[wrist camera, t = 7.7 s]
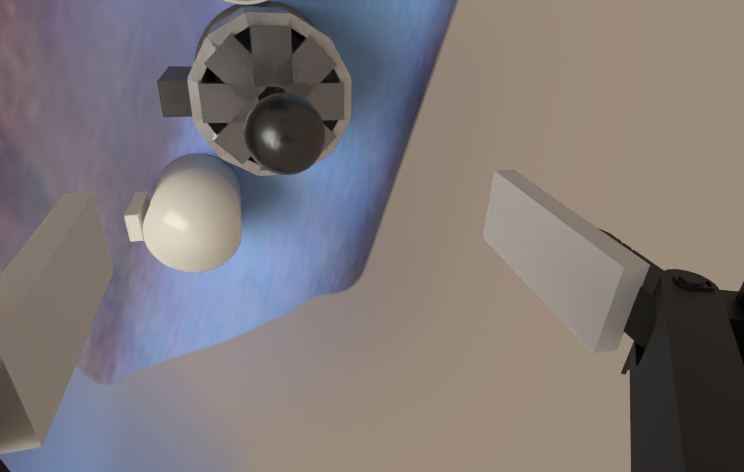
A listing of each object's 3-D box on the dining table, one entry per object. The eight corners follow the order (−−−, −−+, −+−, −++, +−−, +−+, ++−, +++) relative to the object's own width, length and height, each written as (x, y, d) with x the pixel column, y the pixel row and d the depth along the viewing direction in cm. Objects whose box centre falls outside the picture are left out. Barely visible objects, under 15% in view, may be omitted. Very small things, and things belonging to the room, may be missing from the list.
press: (164, -4, 38) (139, 2, 28) (330, 3, 41) (361, 9, 31) (186, 141, 43) (171, 189, 33) (330, 136, 47) (357, 179, 36)
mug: (134, 156, 43) (112, 194, 35) (236, 152, 45) (236, 187, 37) (149, 229, 46) (132, 278, 39) (244, 222, 49) (245, 267, 41)
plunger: (209, 22, 38) (187, 56, 21) (314, 25, 40) (374, 57, 23) (221, 127, 42) (210, 228, 25) (316, 125, 44) (367, 216, 27)
